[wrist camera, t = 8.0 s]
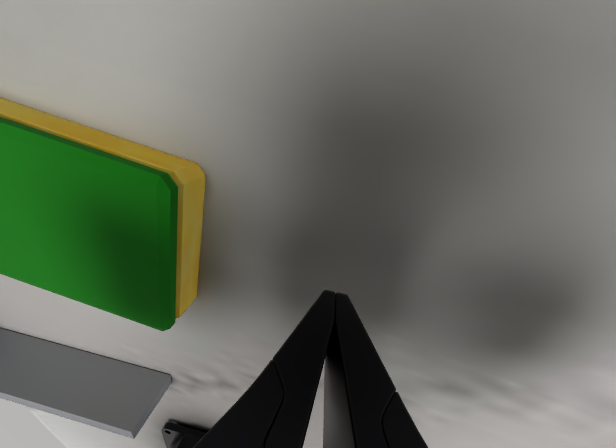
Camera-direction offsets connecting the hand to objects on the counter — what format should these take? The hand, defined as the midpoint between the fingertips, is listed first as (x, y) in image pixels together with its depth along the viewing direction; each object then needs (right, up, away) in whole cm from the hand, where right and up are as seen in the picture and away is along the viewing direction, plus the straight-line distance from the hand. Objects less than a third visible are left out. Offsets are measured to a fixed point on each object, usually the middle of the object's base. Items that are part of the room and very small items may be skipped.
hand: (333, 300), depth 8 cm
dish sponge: (-12, +4, +2) cm, 13 cm away
